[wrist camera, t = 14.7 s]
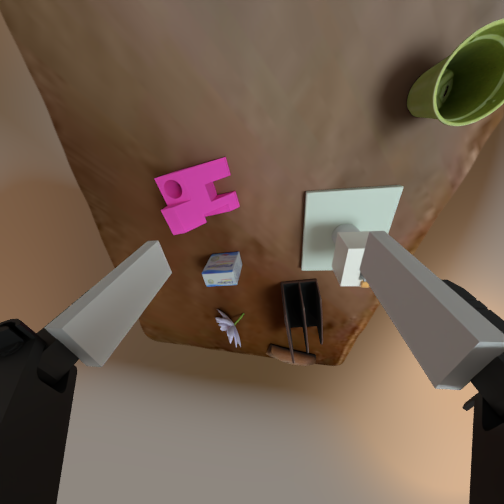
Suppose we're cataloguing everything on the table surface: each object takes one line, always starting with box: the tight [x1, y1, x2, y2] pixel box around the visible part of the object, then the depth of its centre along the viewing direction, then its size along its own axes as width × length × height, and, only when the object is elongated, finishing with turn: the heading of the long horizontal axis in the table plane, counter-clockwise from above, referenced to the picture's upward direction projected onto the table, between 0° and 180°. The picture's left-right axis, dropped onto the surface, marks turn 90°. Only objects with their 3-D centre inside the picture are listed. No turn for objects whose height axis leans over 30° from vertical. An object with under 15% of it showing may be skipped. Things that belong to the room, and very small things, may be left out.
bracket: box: [154, 157, 240, 235], centre depth 36 cm, size 12×10×10 cm
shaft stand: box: [301, 185, 403, 281], centre depth 36 cm, size 20×18×15 cm
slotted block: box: [332, 231, 369, 287], centre depth 33 cm, size 8×8×6 cm
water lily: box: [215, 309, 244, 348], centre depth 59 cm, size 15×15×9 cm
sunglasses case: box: [266, 344, 316, 365], centre depth 70 cm, size 18×7×7 cm
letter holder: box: [281, 279, 323, 363], centre depth 51 cm, size 10×20×14 cm, turn 12°
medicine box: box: [202, 252, 242, 287], centre depth 47 cm, size 8×4×9 cm, turn 100°
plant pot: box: [407, 19, 504, 126], centre depth 25 cm, size 9×9×9 cm
